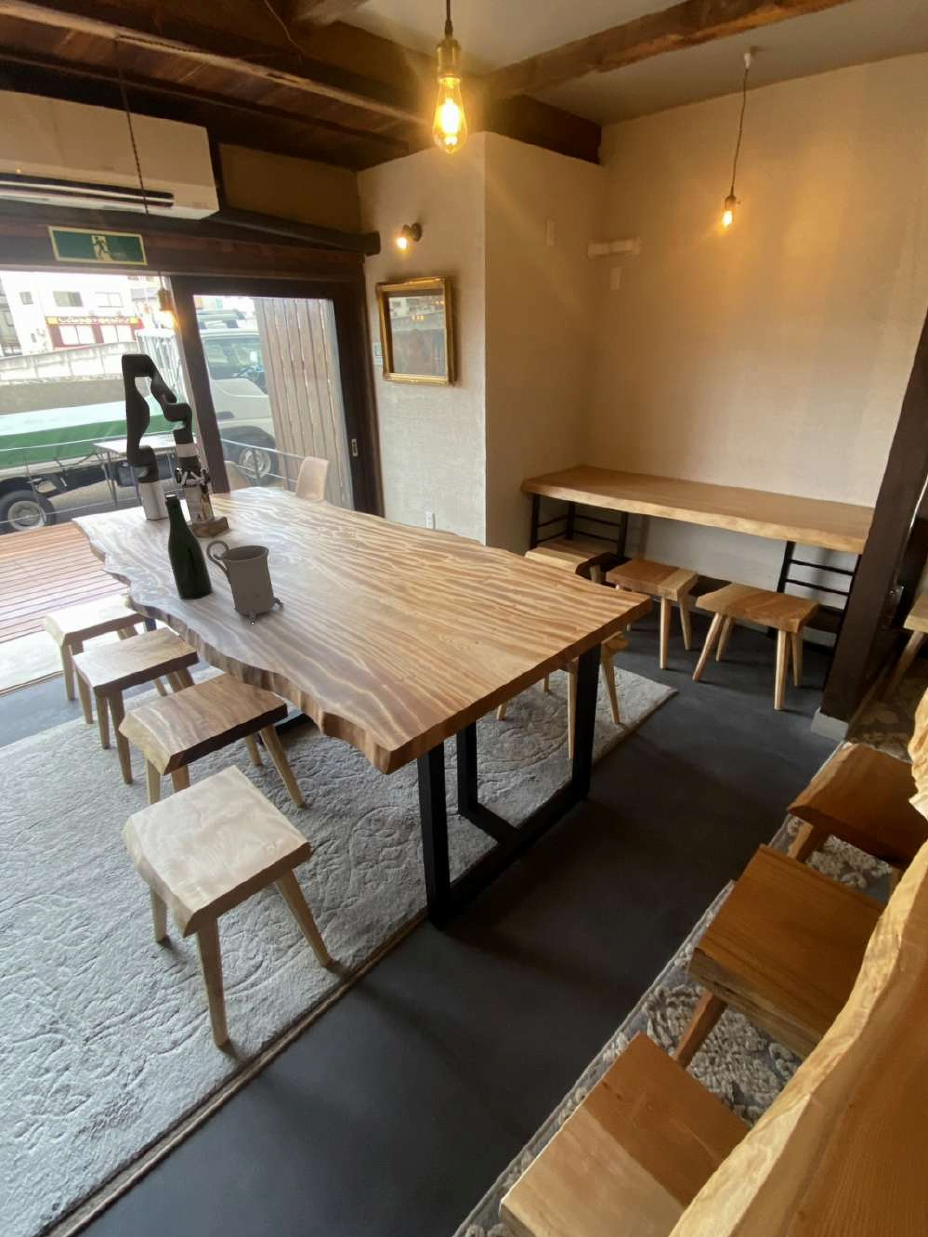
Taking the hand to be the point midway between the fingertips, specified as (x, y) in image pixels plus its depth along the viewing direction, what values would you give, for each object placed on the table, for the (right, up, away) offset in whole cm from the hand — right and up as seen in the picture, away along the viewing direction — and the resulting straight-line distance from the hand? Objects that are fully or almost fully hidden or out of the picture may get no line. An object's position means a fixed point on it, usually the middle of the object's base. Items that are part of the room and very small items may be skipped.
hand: (196, 493), depth 250 cm
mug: (+49, -52, -69) cm, 99 cm away
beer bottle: (+24, -45, -53) cm, 74 cm away
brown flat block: (+1, -16, +8) cm, 17 cm away
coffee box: (0, -11, +5) cm, 12 cm away
